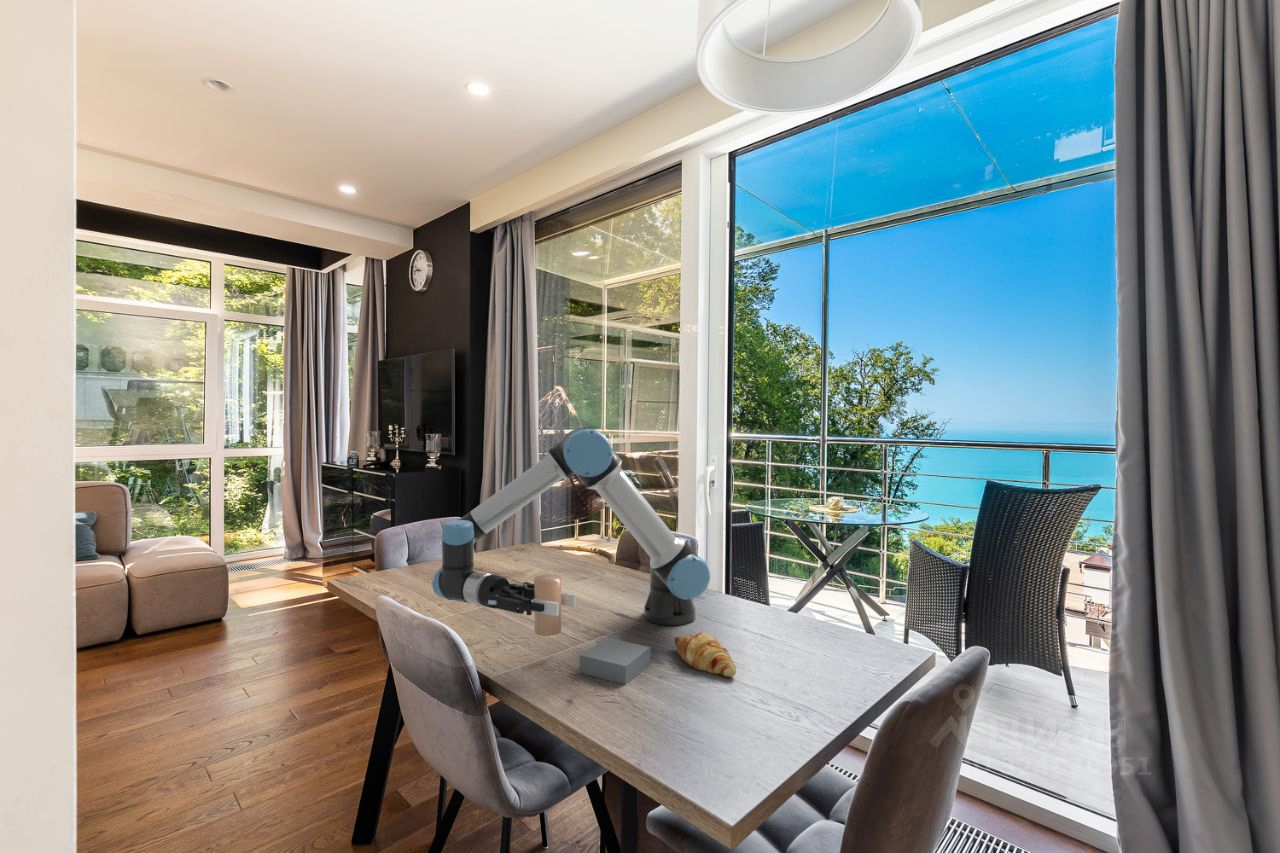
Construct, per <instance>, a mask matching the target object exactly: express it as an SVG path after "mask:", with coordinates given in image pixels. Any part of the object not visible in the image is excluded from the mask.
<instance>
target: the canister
mask: <svg viewBox="0 0 1280 853" xmlns="http://www.w3.org/2000/svg"><path fill="white" fill-rule="evenodd" d="M533 581H534V582H533V584H534V599H541V600H546V601H552V602H557V603H559V615H558V616H553V615H548V614H543V613H538V612H533V613H534V617H533V618H534V620H533V621H534V634H535V635H538V636H543V637H547V636H548V637H549V636H550V637H551V636H554V635H558V634H559V633H561V632H562V605H561V592H562V576H560V575H558V574H548V573H547V574H541V575H537V576H535V577H534V580H533Z"/></svg>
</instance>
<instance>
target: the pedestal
mask: <svg viewBox="0 0 1280 853" xmlns="http://www.w3.org/2000/svg"><path fill="white" fill-rule="evenodd" d="M651 651H652V647H650V646H646V645H642V644H636V643H632V642H629V641H624V640H619V639H615V638H610V637H606V638H605V639H603V640H602V641H600V642H598V643H597V644H595V645H593V646H592V647H591V648H588V649H586V651H584V652H582V653H581V654H580V655H579V673H580V674H583V675H588V676H591V677H596V678H600V679H603V680H607V681H610V682H614V683H618V684H622V685H627V684H628V683H629V682H631V681H632V680H633V679H634V678H636V677H637V675H639V674H640V673H641V672H643V671H644V670H645V669H647V667H649V666H650V665H651V663H652V661H651V660H652V659H651V655H652V654H651Z"/></svg>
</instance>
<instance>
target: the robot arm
mask: <svg viewBox="0 0 1280 853" xmlns="http://www.w3.org/2000/svg"><path fill="white" fill-rule="evenodd" d="M622 462H623V461H622V459H621V457H620V456H619V455H618V454H617V452H616V451H615V450H614V449H613V447H612V444H611V443H610V440H609V439H608V438H607V437H606V436H605V434H603V433H602V431H599V430H598V429H597V430H596V429H593V428H589V427H587V428H585V427H584V428H582V427H580V428H576V429H573V430H571V431H570V432H568V433H567V434H566V435H565V436H564V437H562V439H561V440H560V441H559V442H557V443H556V444H554V446H553V447H551V448H550V449H548V450H547V451H546V455H545V457H544V458H543V459H541V460H540V461H538V462H537V463H535V464H534V465H533V466H531V467H530V468H528V469H526V471H524V472H523V473H522V474H520V475H519V476H517V477H516V478H515V479H513V480H511V481H510V482H509V483H507V485H505V486H504V487H503V488H501V489H499V490H498V491H496V492H495V493H494V494H493V495H491V496H490V497H488V498H487V499H486V500H484V501H483V502H482V503H480V504H478V505H477V506H476V507H475V508H473V509H472V510H470V512H468V513H467V514H465V515H464V516H462V517H460V518H458V519H456V520H450V521H449V520H448V521H446V522H445V523H443V524H442V526H441V527H442V528H441V530H442V533H441V536H440V537H441V551H442V552H441V554H442V555H441V557H442V564H441V565H442V566H441V568H439V569H438V570H437V571H436V572H435V574H434V577H433V580H432V583H431V587H432V590H433V592H434V594H435V595H436V596H437V597H440V598H443V599H447V600H449V601H456V602H462V603H467V604H471V605H475V606H476V607H481V606H482V607H485V608H489V609H493V610H494V609H499V610H503V611H507V612H510V613H515V614H519V615H523V614H524V613H525V612H526V616H531V615H532V614H533V613H534V612H538V613H543V614H548V615H553V616H558V615H559V603H557V602H552V601H546V600H541V599H534V583H531V582H528V581H524V582H523V584H521V585H520V584H517V583H510V582H509V581H508V579H507V578H506V577H504V576H502V575H496V574H490V573H485V572H480V571H474V567H475V566H474V565H475V564H474V562H475V561H474V558H475V557H474V555H475V554H474V552H475V551H474V550H475V543H476V542H478V541H479V540H481V539H482V538H483V537H485V536H486V535H487V534H488V533H490V532H491V531H492V530H494V529H495V528H496V527H498V526H500V524H502V523H504V521H506V520H507V519H509V518H510V517H511V516H513V515H514V514H515V513H517V512H519V510H521V509H523V508H524V507H525V506H527V505H528V504H530V503H531V502H532V501H534V500H535V499H536V498H537V497H539V496H540V495H543V493H545V492H546V491H547V490H548V489H550V488H551V487H553V486H554V485H555V484H557V483H558V482H560V481H561V480H568V479H570V478H571V477H572V476H574V475H575V476H576V477H577V478H578V479H579V481H580V482H581V483H582V485H584V486H585V488H586V489H588V490H594V491H595V492H597V493H598V494H599V496H600V497H601V498H602V500H603V501H604V502H605V503H606V504H607V505H608V506H609V508H610V509H611V511H612V512H613V513H614V514H615V516H616V517H617V518H618V519H619V521H621V523H622V524H623V525H624V527H625V528H626V529H627V530H628V532H629V533H630V534H631V535H632V537H633V538H634V539H635V540H636V541H637V543H638V544H639V545H640V546H641V548H642V549H643V550H644V551H645V553H647V555H648V556H649V557H650V561H649V566H650V569H649V570H650V572H649V573H650V574H649V575H650V576H649V577H650V578H649V580H650V588H649V592H648V595H647V598H646V602H645V604H644V608H643V617H644V619H645V620H647V621H648V622H650V623H653V624H657V625H662V626H679V625H687V624H689V623H691V622H693V621H695V620H696V616H697V615H696V607H695V603H694V600H693V599H696V598H698V597H700V596H701V595H702V594H703V593H704V592H705V591H706V589H707V588H708V586H709V584H710V579H711V572H710V568H709V566H708V564H707V562H706V561H705V560H704V559H703V558H701V557H700V556H699V555H698V554H697V553H696V551H694V549H693V548H692V545H691V540H690V539H689V538H687V537H686V538H685V537H681V536H675V535H674V533H673V532H672V531H671V530H670V528H669V527H668V526H667V524H666V523H665V522H664V521H663V519H661V517H660V516H659V514H658V513H657V512H656V511H655V510H654V508H653V507H652V505H651V504H650V503H649V502H648V501H647V499H646V498H645V497H644V496H643V495H642V493H641V492H640V490H639V489H638V488H637V486H635V484H634V483H633V482H632V481H631V479H630V478H629V477H628V476H627V474H626V473H625V472H624V470H623V469H622ZM561 606H564V607H565V606H566V607H572V608H576V607H577V594H575V593H570V592H564V591H561Z"/></svg>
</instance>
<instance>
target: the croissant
mask: <svg viewBox="0 0 1280 853" xmlns="http://www.w3.org/2000/svg"><path fill="white" fill-rule="evenodd" d="M674 645H675V646H676V651H677V653H678V655H679V657H681V659H682V661H683V662H684V663H686V664H687V665H689V666H691V667H692V668H693V669H696V670H699V671H704V672H708V673H710V674H716V675H722V676H723V677H728V678H729V677H730V678H731V677H734V676H735V675H736V674H737V670H736V664H735V662H734V661H733V660H732V657H731V655H730V653H729V651H728V649H726V648H725V647H722V646H721V643H719V641H718V639H717V638H716V637H714V636H711V635H709V634H707V633H702V632H699V633H696V634H693V635H690V636H685V635H684V636H675V637H674Z"/></svg>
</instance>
